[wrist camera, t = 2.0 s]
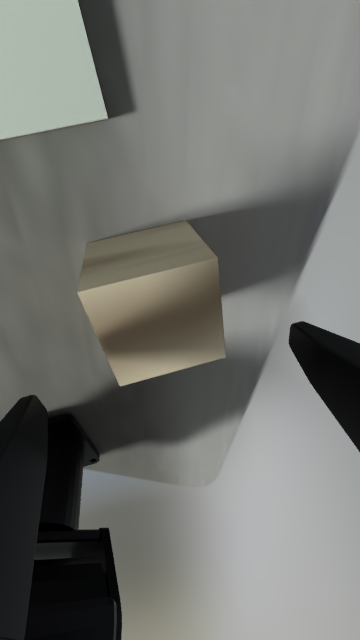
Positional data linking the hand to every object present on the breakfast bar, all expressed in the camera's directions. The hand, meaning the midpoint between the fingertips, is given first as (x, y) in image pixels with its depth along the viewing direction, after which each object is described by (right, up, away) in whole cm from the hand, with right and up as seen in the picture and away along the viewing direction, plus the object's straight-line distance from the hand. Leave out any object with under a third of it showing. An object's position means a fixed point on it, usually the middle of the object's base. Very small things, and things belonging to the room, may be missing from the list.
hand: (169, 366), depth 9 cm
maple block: (-1, +4, +5) cm, 7 cm away
